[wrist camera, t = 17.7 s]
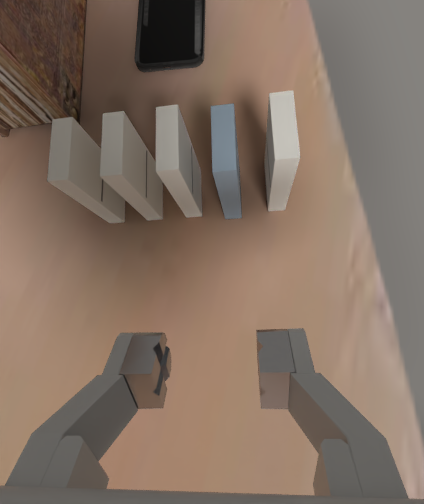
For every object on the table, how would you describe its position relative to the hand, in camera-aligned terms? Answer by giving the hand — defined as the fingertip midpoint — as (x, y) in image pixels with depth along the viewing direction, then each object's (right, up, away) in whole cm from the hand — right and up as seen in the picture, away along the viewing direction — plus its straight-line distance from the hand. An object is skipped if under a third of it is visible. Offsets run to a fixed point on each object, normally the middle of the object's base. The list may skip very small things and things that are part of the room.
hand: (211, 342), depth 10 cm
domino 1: (-10, +8, +22) cm, 25 cm away
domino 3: (-2, +9, +21) cm, 23 cm away
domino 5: (+6, +9, +20) cm, 23 cm away
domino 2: (-6, +9, +21) cm, 24 cm away
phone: (-5, +31, +27) cm, 41 cm away
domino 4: (+2, +9, +20) cm, 22 cm away
